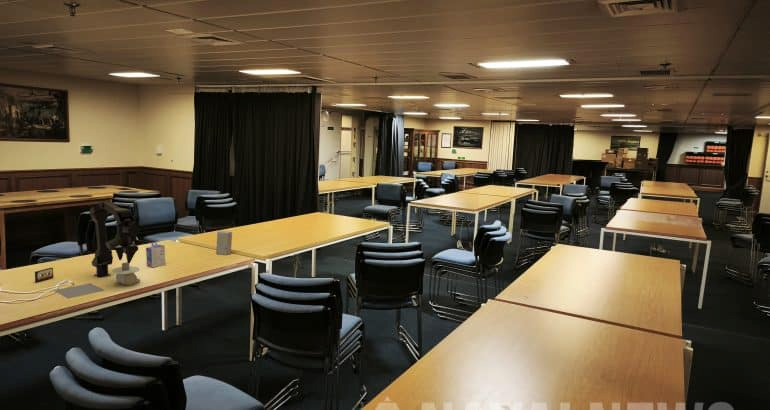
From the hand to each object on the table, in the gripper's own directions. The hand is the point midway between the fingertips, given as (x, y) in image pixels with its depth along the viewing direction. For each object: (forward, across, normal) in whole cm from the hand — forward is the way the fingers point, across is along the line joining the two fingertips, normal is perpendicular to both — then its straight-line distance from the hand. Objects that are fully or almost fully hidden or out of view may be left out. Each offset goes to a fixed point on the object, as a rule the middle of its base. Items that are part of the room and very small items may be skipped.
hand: (124, 261), depth 249 cm
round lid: (+5, 0, +1) cm, 5 cm away
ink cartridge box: (+13, -24, +30) cm, 41 cm away
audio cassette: (+13, -36, -25) cm, 46 cm away
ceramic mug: (+13, 0, +2) cm, 13 cm away
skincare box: (+13, -21, +77) cm, 81 cm away
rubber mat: (+13, -5, -20) cm, 24 cm away
